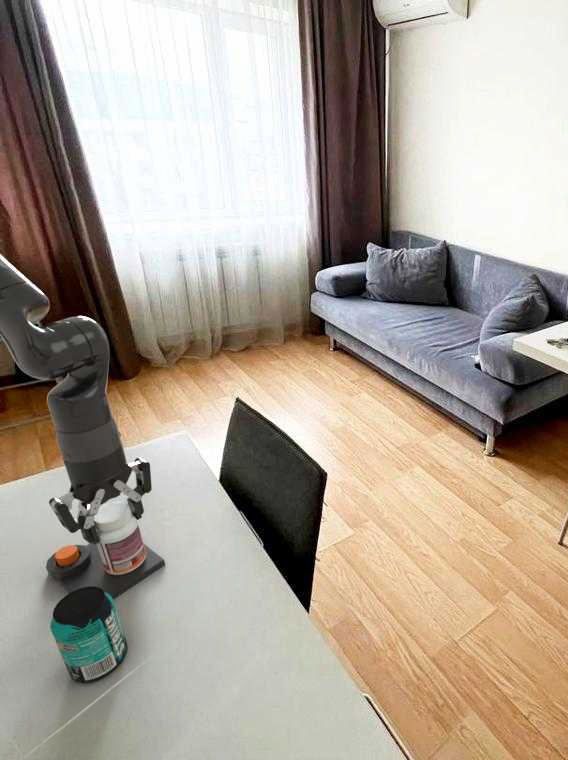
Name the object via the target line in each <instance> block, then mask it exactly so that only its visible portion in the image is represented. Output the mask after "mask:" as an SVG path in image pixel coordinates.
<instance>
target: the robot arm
mask: <svg viewBox="0 0 568 760" xmlns="http://www.w3.org/2000/svg"><path fill="white" fill-rule="evenodd" d="M50 308H51V303H50V299H49V298H48V297H47V296H46V294H45V293H44V292H43V291H42V290H41V289H39V288H38V287H37V286H36V285H35V284H34V283H33V282H32V281H31V280H30V279H28V277H26V276H25V275H24V274H23V273H21V271H19V270H18V269H17V268H16V267H15V266H14V265H12V264H11V263H10V262H9V261H8V260H7V259H6V258H5V257H4V256H3V255H2V254H1V253H0V338H1V339H2V341H3V343H4V344H5V346H6V347H7V349H8V351H9V353H10V355H11V357H12V359H13V360H14V362H15V363H16V365H17V366H18V368H19V369H20V370H21V371H22V372H23V373H25V374H26V375H28V376H29V377H31V378H35V379H37V380H43V381H53V380H55V379H58V378H61V377H63V376H66V377H65V378H64V379H63V380H62V381H60V382H59V383H58V384H57V385H54V387H53V388H52V389H50V390H49V392H48V393H47V396H46V403H47V407H48V410H49V413H50V416H51V419H52V422H53V426H54V429H55V437H56V441H57V445H58V448H59V451H60V455H61V458H62V461H63V463H64V467H65V470H66V473H67V477H68V479H69V482H70V487H69V491H68V492H67V493H66V494H64V495H62V496H59V497H56V496H53V497H51V498H50V499H49V501H48V504H49V506H50V508H51V509H52V511H53V513H54V514H55V516H56V517H57V519H58V521H59V522H60V524H61V526H62V527H63V528H65V529H66V530H67V531H68V532H69V533H71V534H75V533H76V532H78V531H79V530H80V534H81V535H82V539H84V541H86V542H87V543H88V544H90V543H93V544H94V545H95V544H97V543H99V542H100V541H99V538H98V534H97V531H96V528H95V525H94V523H93V521H94V517H95V515H96V514H97V513H98V510H99V508H100V507H101V506H103V505H105V503H107V502H108V501H110V500H112V499H116V498H118V497H119V496H121V494H124V495H125V496H126V497H127V498H126V503H127V504H128V505H129V507H130V511H131V513H132V515H134V516H135V517H136V519H137V521H139V520H141V519H142V518H143V516H142V515H144V513H145V509H144V505H143V501H142V498H143V496H144V495H146V494H149V493H151V492H152V490H153V489H152V487H153V486H152V475H151V474H152V473H151V463H150V462H149V461H147V460H146V459H144V458H143V457H141V456H138V457H136V458H135V459H134V461H133V462H131V463H127V462H128V461H127V457H126V454H125V449H124V446H123V442H122V437H121V436H122V435H121V432H120V430H119V427H118V424H117V422H116V420H115V418H114V415H113V412H112V408H111V404H110V401H109V396H108V393H107V388H108V381H109V367H110V366H109V365H110V343H109V339H108V337H107V334H106V332H105V330H104V329H103V328H102V326H100V324H99V323H98V322H97V321H95V320H94V319H92V318H90V317H87V316H83V315H75V316H71V317H70V316H69V317H67V318H63V319H60V320H58V321H57V320H56V321H54V322H50V323H47V324H44V325H41V326H36V324H38V323H39V322H40V321H42V319H44V318H46V316H47V315H48V313H49V311H50ZM132 472H133V473H134V474H135V484H136V486H135V487H134V488H132V487H130V486H129V485H127V483H128V481H129V479H130V477H131V475H132ZM74 500H78V505H77V506H78V507H77V509H78V512H77V516H76V518H74V516H73V514H72V512H71V510H72V508H73V501H74Z"/></svg>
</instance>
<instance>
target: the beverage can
mask: <svg viewBox="0 0 568 760" xmlns="http://www.w3.org/2000/svg"><path fill="white" fill-rule="evenodd" d="M49 628H50V632H51V634H52V636H53V638H54V641H55V644H56V646H57V648H58V650H59V654H60V655H61V658H62V661H63V663H64V665H65V668H66V670H67V672H68V675H69V677H70V678H71V679H72V681H74V682H76V683H80V684H89V683H93V682H97V681H99V680H102V679H104V678H106V677H107V676H109V675H110V674H111V673H113V672H114V671H115V670H117V668H118V667H119V666H120V665H121V664H122V663H123V661H124V659H125V658H126V656H127V653H128V649H129V646H128V641H127V638H126V636H125V633H124V629H123V627H122V622H121V620H120V616H119V613H118V611H117V607H116V604H115V600H113V599H112V597H111V596H110V595H109V594H108V593H106V592H104V591H103V590H102V589H101V588H99V587H95V586H89V587H84V588H80V589H78V590H75V591H73V592H71V593H68V594H67V595H65V596H64V597H63V598H61V599H60V600H59V601H58V603H56V604H55V607H54V608H53V611H52V617H51V620H50V627H49Z"/></svg>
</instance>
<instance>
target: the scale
mask: <svg viewBox="0 0 568 760" xmlns="http://www.w3.org/2000/svg"><path fill="white" fill-rule="evenodd" d="M73 545H74V546H76V547H77V550H78V553H79V558H78V560H77V561H76V562H74V563H72V564H70V565H67V566H59V565H58V563H57V561H56V558H55V554H56V552H54V553H53V554H52V555H51V556H50V557H49V558H48V559H47V560H46V565H45V569H46V571H47V574H48V575H49V576H50V578H52V579H54V580H55V582H57V583H58V584H59V585H60V586H61V587H62V588H63V589H64V590H65V591H66V592H67V593H68V594H69V593H71V592H73V591H75V590H78V589H80V588H84V587H89V586H95V587H99V588H101V589H102V590H103V591H104V592H106V593H108V594H109V595H110V596H111V597H112V599H113V601H115V599H117V598H118V597H120V596H121V595H123V594H124V593H126V592H128V591H129V590H130V589H132V588H133V587H134V586H136V585H138V584H139V583H141V582H142V581H145V579H147V578H148V577H149V576H152V575H153V574H154V573H155V572H157V571H159V570H160V569H162V568H163V567H165V566H166V561H165V559H164V558H163V557H162V556H160V555H159V554H158V553H157V552H155V551H154V550H153V549H151V548H150V547H149V546H147V544H145V543H144V547H145V551H146V558H145V560H144V561H143V563H142V564H141V565H140V566H139V567H137V568H136V569H134V570H133V571H131V572H129V573H126V574H122V575H112V574H109V573H108V572H107V571H106V570H105V568H104V565H103V562H102V559H101V556H100V553H99V550H98V547H97V544H95V545H94V544H93V543H88V544H73Z"/></svg>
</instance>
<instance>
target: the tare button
mask: <svg viewBox="0 0 568 760" xmlns="http://www.w3.org/2000/svg"><path fill="white" fill-rule="evenodd" d="M74 545H75V544H73V545H72V544H70V545H65V546H63V547H60V548H59V549H58V550H57V551H56V552H55V553H56V554H55V558H56V561H57V563H58V565H59V566H67V565H70V564H72V563H74V562H76V561H77V560H78V558H79V553H78V550H77V547H76V546H74Z"/></svg>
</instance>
